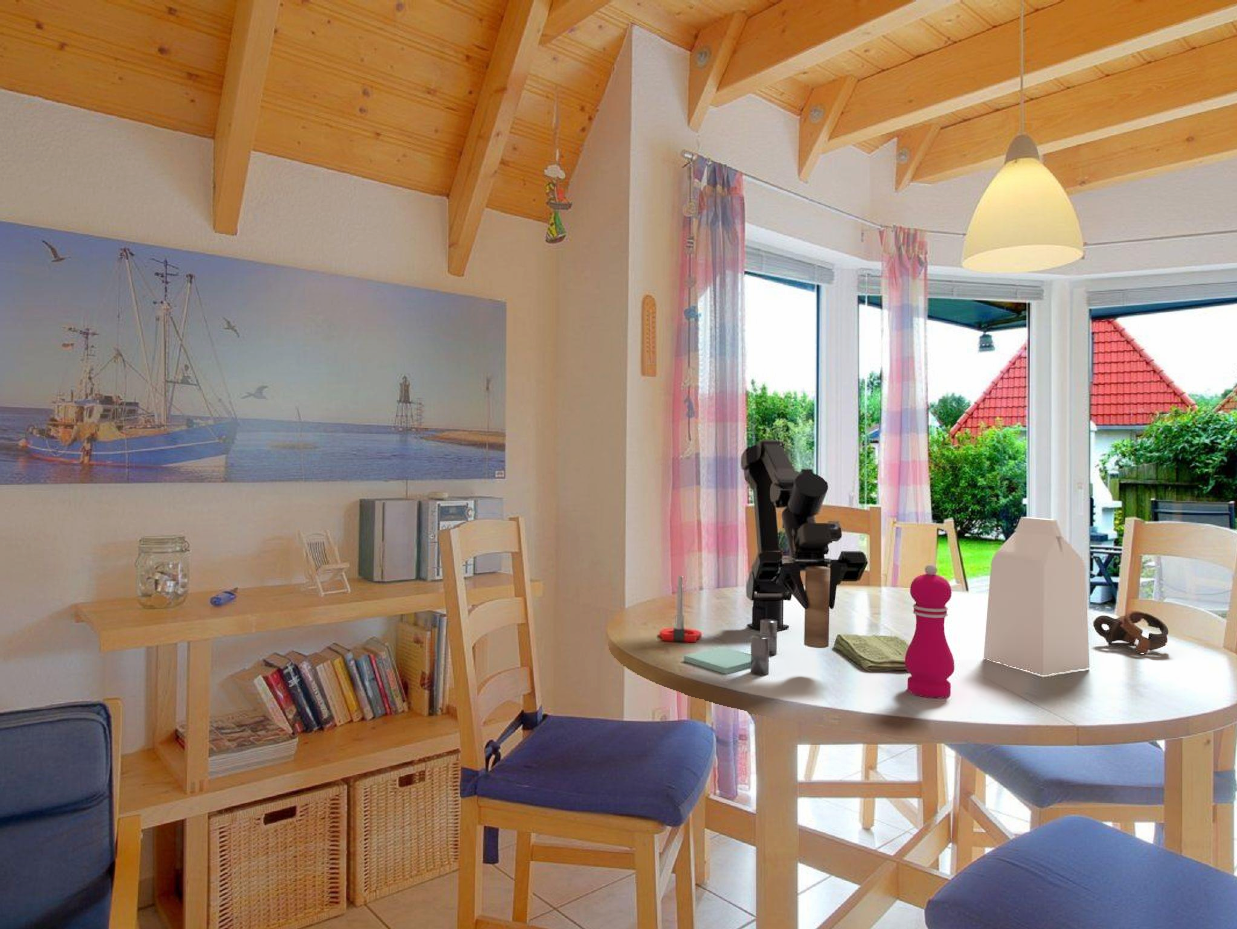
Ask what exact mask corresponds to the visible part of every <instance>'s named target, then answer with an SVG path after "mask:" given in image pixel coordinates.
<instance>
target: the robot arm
mask: <svg viewBox="0 0 1237 929" xmlns="http://www.w3.org/2000/svg"><path fill="white" fill-rule="evenodd" d="M740 466H741V470H743V476H744V479H745V482H746V483H747V484H748V486H749V487H750V488H751V489H752V496H753V506H754V507H753V508H754V509H753V510H754V520H755V521H754V522H755V533H756V534H755V535H756V545H757V555H756V557H755V559H754V561H753V563H752V565H751V567H750V568H751V571H750V573H749V575H748V576H749V577H748V579H747V582H746V586H745V593H746V597H747V598H748V599H749V600H750V601H752V607H751V623H747V624H746V627H748V628H751V629H755V630H759V631H760V625H761V620H763V619H771V620H776V621H777V632H778V631H781V630H786V629H789V628H790V625H788V624H784V601H789V602H790V601H791V600H792V598H793V597H794V599H796V600H797V602H798V603H799V604H800V605H801V606H802V607H803V609H804V610H805V609H807V608H808V600H807V596H806V592H805V586H804V583H803V580H802V576H801V572H803V573H806V567H807V566H822V567H828V568H830V604H829V610H833V609H834V608H835V603H836V594H837V586H839V585H840V584H841V583H842V582H850V583H851V582H853V583H854V582H858V581H860V580H861V578H862V576H863V574H864V572H865V570H866V568H867V566H868V563H869V561H868V558H867V555H866V554H865V553H864V552H863V551H862V550H841V552H840V553H839V556H838V558H837V559H836V558H835V559H831V558H827V557H826V556H825V555H828V554H829V552H830V548H829V545H830V544H833V542H839V541H840V540H841V539H842V537H843V533H842V532H843V530H842V527H841V524H840V522H839V521H838V520H834V521H833V520H829V521H828V522H816V518H815V516H816V515H819V514H820V511H821V508H822V506H823V503H824V501H825V498H826V495H827V493H828V491H829V490H828V489H829V484H828V482H827V481H826V480H825V479H824V478H823V477H822V476H820V475H818V474H816V473H814V471H813V469H811V468H801V470H800V471H797V470H795V468H794V466H793V464H792V462H791V460H790V459H789V456H788V455H787V453H786V451H785V445H784V442H783V441H780V439H779V440H776V439H775V440H774V439H766V440H765V439H762V440H759V441H758V442H757V443H756V444H755V445H752V446H748V447H747V448H745V449H744V451H743V453H742V454H741V458H740ZM777 509H783V511H782V513H781V520H782V525H781V526H782V529H784V534H785V539H786V543H787V544H786V548H785V549H786V552H787V553H789V555H784V554H783V552H782V551H781V550H780V539H779V530H778V518H777ZM825 557H826V558H825ZM792 596H793V597H792Z"/></svg>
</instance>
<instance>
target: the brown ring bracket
mask: <svg viewBox="0 0 1237 929" xmlns="http://www.w3.org/2000/svg"><path fill="white" fill-rule="evenodd" d="M1142 620H1144V621H1145V622H1146V623H1147V627H1150V628H1154V629H1159V630H1160V632H1161V633H1153V632H1149V633H1148V637H1146V636H1144V635H1143V631H1144V630H1143V629H1141V628H1140V627H1138V626H1137V625H1136V624H1138V623H1139V622H1141V621H1142ZM1092 625H1093V626H1092V627H1093V628H1094V631H1095V632H1096V633H1097V634H1098V635H1099V636H1100V637H1102V638H1104V640H1105V641H1106V642H1107V644H1108V643H1111V644H1112V643H1114V642H1116V641H1119V642H1121V641H1122V642H1125V643H1129V644H1131V643H1134V644H1135V643H1136V640H1137V641H1138V643H1137V645H1136V647H1135V648H1134V652H1135V653H1137V652H1138V654H1139V653H1145V654H1147V653H1148V652H1149V651H1154V650H1155V651H1156V650H1157V649H1161V648H1163V647H1165V646H1166V645H1167V643H1168V635H1169V628H1168V627H1167V625H1166V624H1165V623H1164V622H1163V621H1162V620H1161V619H1159V618H1157V617H1155V616H1154V615H1152V614H1149V613H1146V612H1143V611H1139V610H1129V611H1127V612H1126V613H1125V615H1121V616H1119V617H1116V618H1114V617H1111V616H1109V615H1103V614H1102V615H1099V616H1097V617H1096V618H1095V619H1094V620H1093V622H1092ZM1103 625H1106V626H1107V627H1108V629H1104V628H1103Z"/></svg>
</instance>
